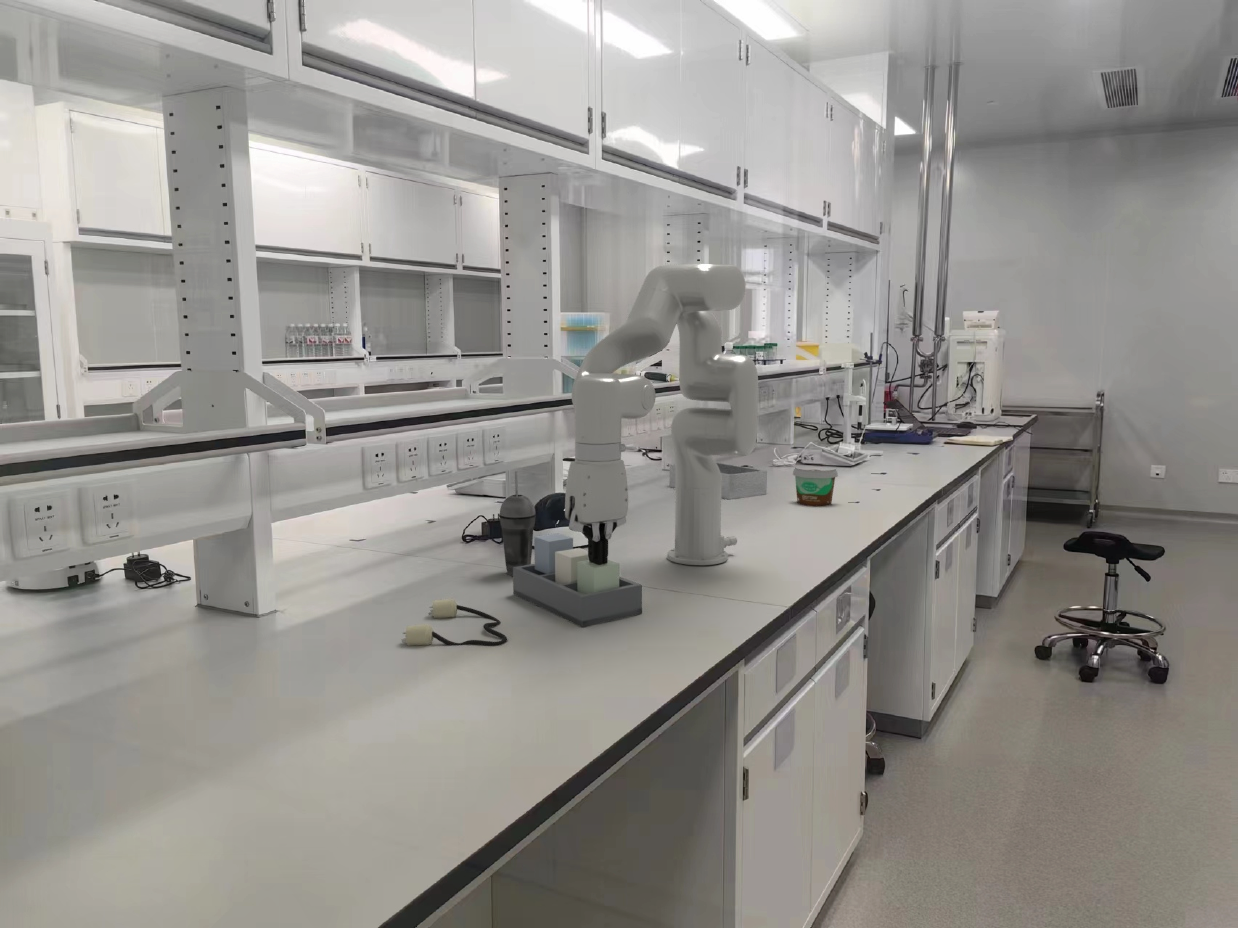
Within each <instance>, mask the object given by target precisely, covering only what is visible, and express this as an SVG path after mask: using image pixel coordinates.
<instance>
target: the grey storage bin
mask: <svg viewBox="0 0 1238 928" xmlns="http://www.w3.org/2000/svg"><path fill="white" fill-rule="evenodd" d="M715 462H716V464H717V466H718V467H719V470H720V472H721V477H722V487H721V499H727V500H735V499H742V498H749V497H756V496H757V497H758V496H763V495H767V494H768V493H767V492H768V491H767V488H768V487H767V485H768V470H764V469H758V468H753V467H746V466H742V465H741V466H740V465H735V464H729V463H722V462H717V461H715ZM675 485H676V466H675V463H670V464H669V487H671V488H674V489H675Z"/></svg>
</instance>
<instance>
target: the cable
mask: <svg viewBox="0 0 1238 928" xmlns="http://www.w3.org/2000/svg"><path fill="white" fill-rule="evenodd" d="M428 608H429V609H430V612H428V616H429V617H433V618H434V619H447V618H450V619H451V618H455V617H456V615H457V614H458V611H462V612H465V613H469V614H473V615H477V616H479V617H482V618H484V619H488V620H489V621H490V620H491V621H493V622H486V623H484V624H483V626H482V627H483V629H484V631H486V632H487V633H488V634H491V635H493V636H495V637H498V638H499V639H501V640H497V641H490V640H489V641H488V640H480V639H469V640H466V641H463V642H455V641H452V640H449V639H446V638H445V637H443V636H442V635H440V634H439V633H437V632H435V631H434V628H433V627H432V626H431V624H430V623H429V624H428V623H426V624H415V625H407V627H406V629H405V631H403V632H402V634H404V636H405V638H401V643H406V645H407V646H428V645H431V644H432V642H433V641H434V639H436V640H437V641H439V642H440V643H442V644H444V645H446V646H451V647H452V646H453V647H455V646H459V647H460V646H467V645H468V646H469V645H475V646H486V647H487V646H488V647H495V646H502V645H505V644H506V643H507V642H508V638H507V636H506V635H505V634H504V633H502V632H500V631H497V630H495V629H492V628H495V627H498V626H499V625H501V622H502V621H500V620H499V619H498V618H496V617H494V616H493V615H491V614H488V613H486V612H484V611H480V610H477V609H475V608H471V607H467V606H463V605H458V604H457V601H456V600H455V599H454V598H447V599H446V598H445V599H439V600H438V599H436V600H433V601H432V605H430V606H428Z"/></svg>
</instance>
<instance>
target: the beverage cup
mask: <svg viewBox="0 0 1238 928" xmlns="http://www.w3.org/2000/svg"><path fill="white" fill-rule="evenodd" d="M518 480H519V479H518V471H514V491H515V494H512V495H509V496H508V497H506V498H505V499H504V501H503V502H502V503H501V505H500V509H499V514H498V518H499V522H500V526H501V531H502V541H503V542H502V543H503V550H504V551H503V552H504V561H505V562H504V563H505V567H506V574H507V575H508V576H511V577H513V567H518V566H524V565H530V564H532V554H533V553H532V552H533V539H534V527H535V523H536V517H537V513H536V508H535V505H534V503H533V502H532V500H531V499H530V498H528V497H527V496H525V495H523V494H519V487H518V485H519V483H518Z"/></svg>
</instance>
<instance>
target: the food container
mask: <svg viewBox="0 0 1238 928" xmlns="http://www.w3.org/2000/svg"><path fill="white" fill-rule="evenodd" d="M792 475H793V476H794V477H795V489H796V502H797V504H798V505H802V506H807V507H808V506H809V507H825V506H826V507H827V506H831V505H832V503H833V501H832V500H833V495H834V494H833V493H834V487H835V481H836V478H837V477H838V476H839V474H838V471H837V468H835V469H829V470H827V469H826V470H821V469H802V468H797V467H794V468H793V472H792Z"/></svg>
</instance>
